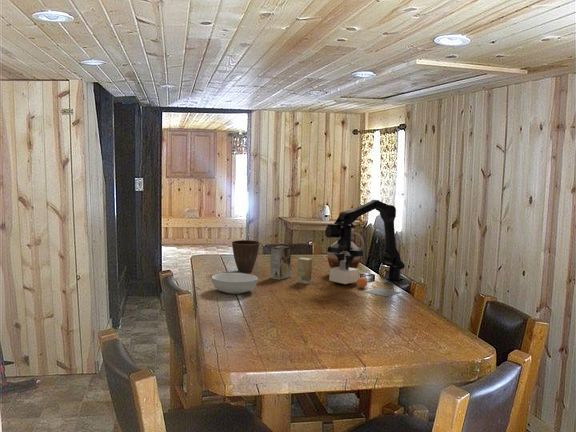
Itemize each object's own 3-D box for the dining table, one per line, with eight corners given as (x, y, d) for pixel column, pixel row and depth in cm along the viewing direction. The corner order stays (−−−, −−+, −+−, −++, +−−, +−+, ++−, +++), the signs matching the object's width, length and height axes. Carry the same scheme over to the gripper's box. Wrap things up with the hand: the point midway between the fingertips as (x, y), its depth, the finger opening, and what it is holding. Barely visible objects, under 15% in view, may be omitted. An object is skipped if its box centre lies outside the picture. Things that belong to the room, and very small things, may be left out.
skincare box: (296, 282, 269) (297, 258, 268) (300, 281, 273) (301, 257, 272) (308, 284, 266) (308, 259, 265) (311, 282, 270) (312, 258, 269)
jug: (362, 272, 299) (364, 218, 296) (363, 279, 281) (366, 222, 278) (326, 271, 301) (328, 217, 298) (325, 277, 283) (328, 220, 280)
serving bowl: (250, 298, 235) (250, 283, 234) (204, 295, 239) (204, 279, 238) (262, 288, 255) (262, 274, 254) (219, 285, 259) (220, 271, 258)
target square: (379, 288, 262) (379, 287, 262) (400, 292, 254) (400, 292, 254) (364, 291, 254) (364, 291, 253) (385, 296, 245) (385, 296, 245)
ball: (360, 286, 265) (361, 276, 265) (368, 287, 262) (369, 277, 262) (354, 287, 262) (354, 277, 261) (362, 289, 258) (363, 279, 258)
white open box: (342, 277, 277) (342, 258, 276) (358, 281, 270) (359, 261, 269) (329, 280, 269) (330, 260, 268) (345, 284, 262) (346, 263, 261)
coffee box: (280, 275, 285) (281, 245, 284) (290, 277, 282) (291, 246, 280) (269, 278, 278) (270, 247, 277) (279, 279, 274) (280, 248, 273)
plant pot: (257, 274, 285) (258, 244, 284) (229, 273, 286) (230, 243, 284) (259, 269, 300) (260, 240, 299) (233, 268, 301) (233, 239, 299)
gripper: (320, 236, 268) (319, 267, 270) (350, 240, 255) (349, 273, 257) (334, 234, 276) (333, 264, 278) (364, 238, 263) (363, 270, 265)
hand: (344, 268), depth 269 cm, fingers closed on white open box, 3 cm apart
